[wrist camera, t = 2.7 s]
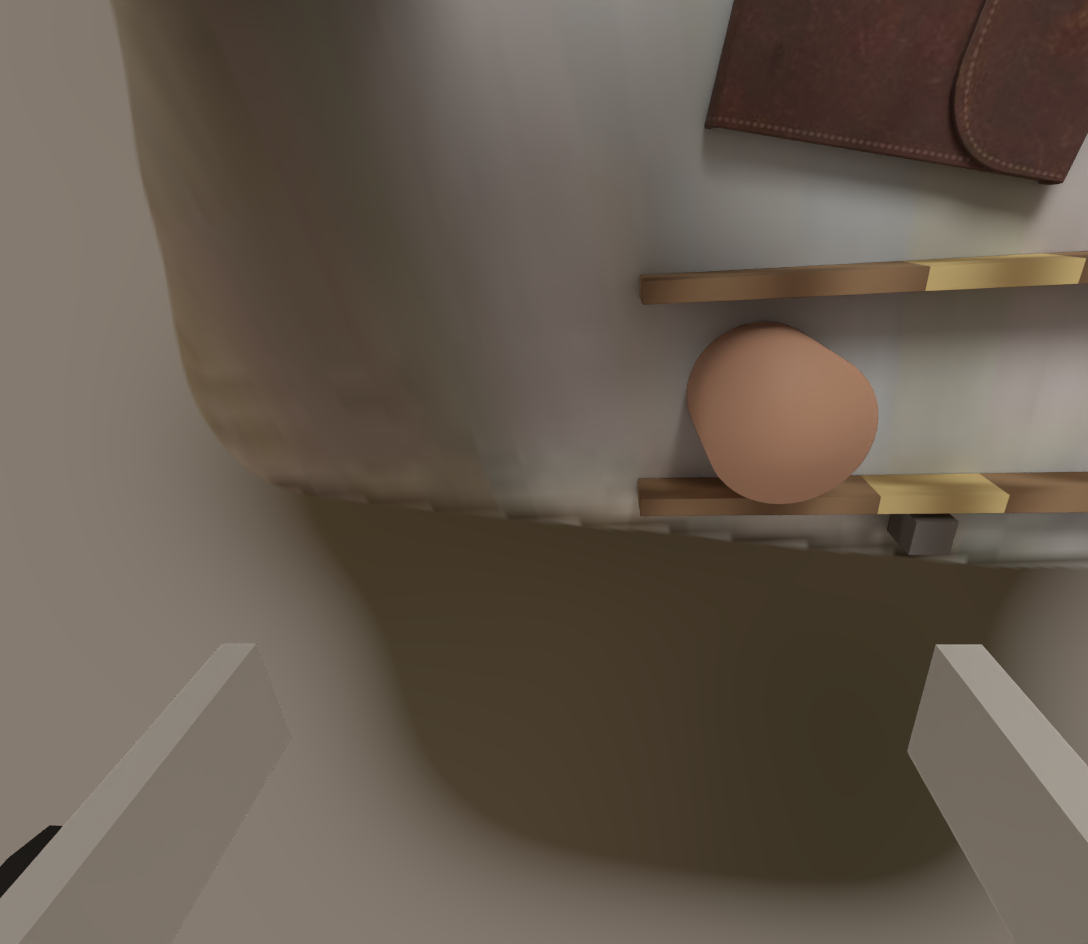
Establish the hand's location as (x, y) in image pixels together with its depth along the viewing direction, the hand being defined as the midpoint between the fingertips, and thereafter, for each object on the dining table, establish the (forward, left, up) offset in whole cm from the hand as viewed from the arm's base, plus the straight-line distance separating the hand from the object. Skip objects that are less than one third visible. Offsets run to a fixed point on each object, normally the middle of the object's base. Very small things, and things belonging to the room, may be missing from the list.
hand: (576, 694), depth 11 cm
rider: (+9, 0, -21) cm, 23 cm away
